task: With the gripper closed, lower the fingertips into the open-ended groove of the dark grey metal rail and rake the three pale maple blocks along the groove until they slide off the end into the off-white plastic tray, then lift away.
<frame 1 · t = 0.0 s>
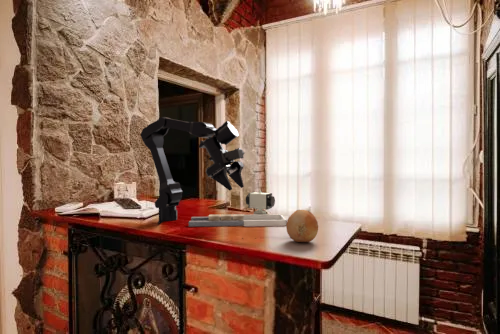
hand: (237, 188, 110), 15 cm above the counter, tool tilted 35°, fingers open, 9 cm apart
tray: (263, 225, 119), on the counter
slot rail: (216, 225, 117), on the counter
block a: (214, 223, 117), point 1 cm above the counter, touching slot rail
block c: (237, 222, 118), point 1 cm above the counter, touching slot rail
pneumatic valve: (260, 219, 131), on the counter
block b: (226, 223, 118), point 1 cm above the counter, touching slot rail
onion: (302, 242, 96), on the counter
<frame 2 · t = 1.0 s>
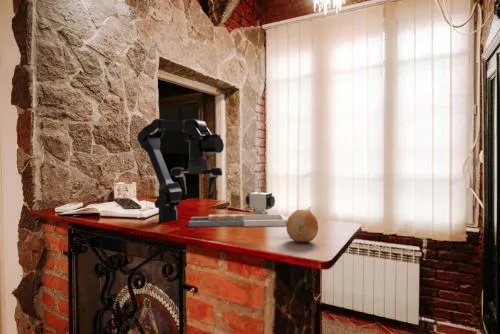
hand: (197, 194, 116), 12 cm above the counter, tool pointing down, fingers open, 8 cm apart
nothing on the counter moved.
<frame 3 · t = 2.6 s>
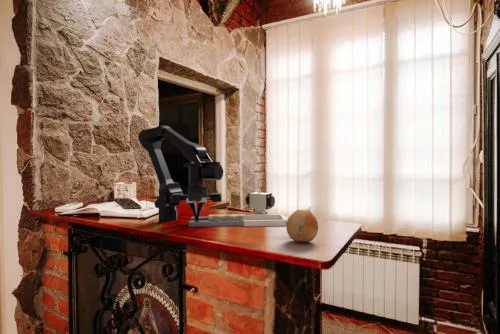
hand: (196, 220, 117), 2 cm above the counter, tool pointing down, fingers closed
nothing on the counter moved.
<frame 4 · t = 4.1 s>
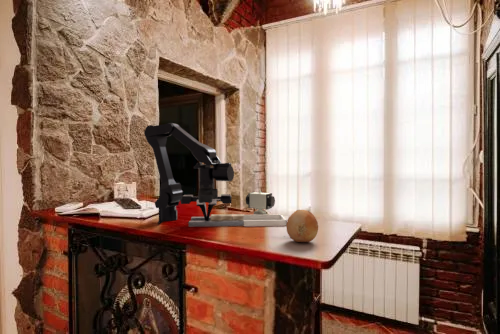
hand: (206, 221, 117), 2 cm above the counter, tool pointing down, fingers closed
block a: (216, 223, 117), point 1 cm above the counter, touching block b, gripper
block b: (226, 223, 118), point 1 cm above the counter, touching block a
everything else where it was.
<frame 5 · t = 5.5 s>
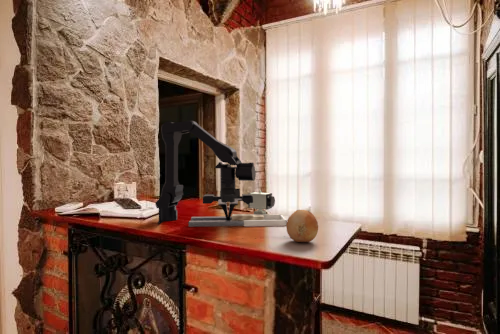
hand: (228, 221, 118), 2 cm above the counter, tool pointing down, fingers closed
block a: (237, 222, 118), point 1 cm above the counter, touching gripper, slot rail
block c: (258, 223, 119), point 1 cm above the counter, touching block b
block b: (247, 222, 118), point 1 cm above the counter, touching block c
everything else where it was.
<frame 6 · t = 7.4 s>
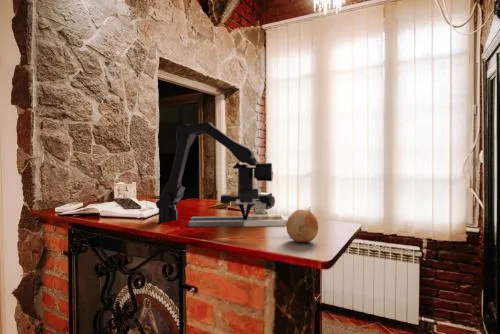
hand: (245, 221, 118), 2 cm above the counter, tool pointing down, fingers closed
block a: (253, 223, 119), point 1 cm above the counter, touching block b, gripper, tray
block c: (274, 223, 119), point 1 cm above the counter, touching block b, tray
block b: (263, 223, 119), point 1 cm above the counter, touching block a, block c, tray
everything else where it was.
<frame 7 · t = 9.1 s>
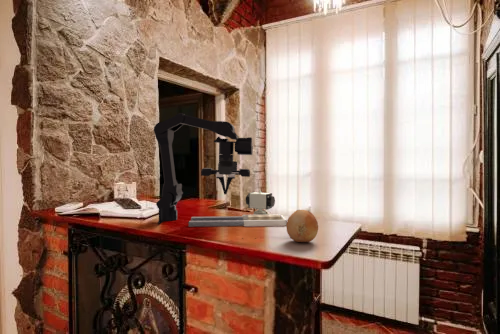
hand: (225, 194, 121), 11 cm above the counter, tool pointing down, fingers closed
block a: (253, 223, 119), point 1 cm above the counter, touching block b, tray
everything else where it was.
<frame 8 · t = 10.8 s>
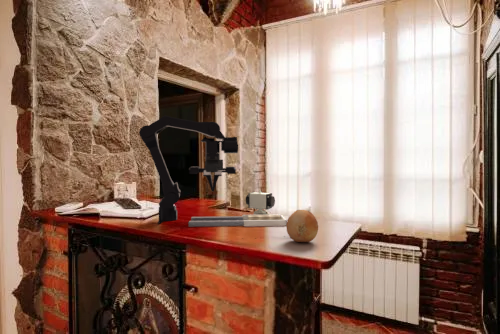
hand: (212, 191, 127), 12 cm above the counter, tool pointing down, fingers closed
nothing on the counter moved.
at the end: block a inside the target area on the tray (3.9 cm from its centre), point 0.6 cm above the tray's base; block b inside the target area on the tray (0.1 cm from its centre), point 0.6 cm above the tray's base; block c inside the target area on the tray (4.1 cm from its centre), point 0.6 cm above the tray's base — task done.
